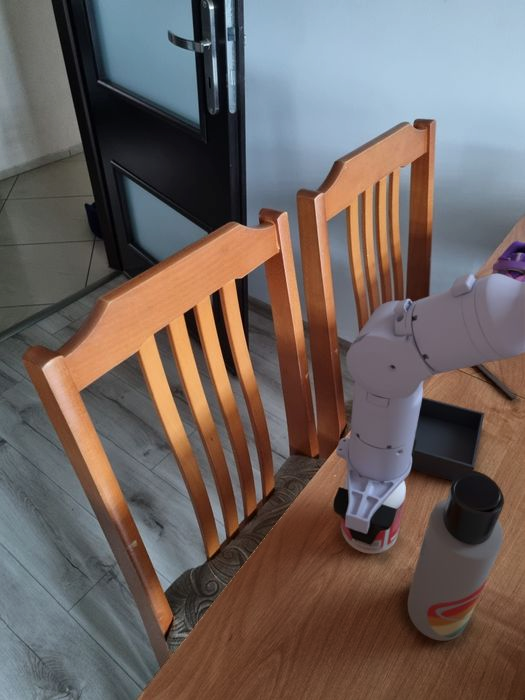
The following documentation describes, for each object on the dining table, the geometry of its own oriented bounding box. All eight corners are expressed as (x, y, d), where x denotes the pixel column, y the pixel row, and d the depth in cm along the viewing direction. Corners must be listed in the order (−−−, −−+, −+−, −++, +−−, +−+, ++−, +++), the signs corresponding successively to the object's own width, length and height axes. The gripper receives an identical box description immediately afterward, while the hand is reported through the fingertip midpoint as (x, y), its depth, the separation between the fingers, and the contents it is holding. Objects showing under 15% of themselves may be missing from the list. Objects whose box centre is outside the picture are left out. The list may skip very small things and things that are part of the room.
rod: (513, 397, 74) (517, 396, 74) (429, 319, 88) (432, 318, 88) (512, 401, 75) (516, 400, 75) (428, 323, 88) (431, 322, 88)
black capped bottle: (474, 642, 52) (531, 522, 39) (412, 642, 52) (449, 523, 39) (458, 583, 56) (505, 457, 43) (401, 583, 56) (431, 459, 43)
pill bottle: (380, 498, 64) (389, 434, 56) (408, 544, 59) (423, 480, 52) (330, 516, 62) (334, 452, 55) (356, 564, 58) (363, 502, 51)
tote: (478, 431, 71) (484, 412, 69) (468, 485, 65) (474, 467, 63) (408, 412, 74) (411, 394, 72) (391, 462, 68) (394, 444, 66)
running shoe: (457, 351, 83) (471, 296, 76) (482, 272, 98) (495, 220, 92) (525, 368, 80) (547, 313, 73) (540, 283, 95) (559, 231, 88)
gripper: (362, 363, 56) (354, 450, 65) (313, 472, 46) (311, 557, 55) (433, 380, 54) (415, 468, 62) (397, 499, 44) (382, 583, 52)
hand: (371, 511), depth 58 cm, fingers closed on pill bottle, 6 cm apart
